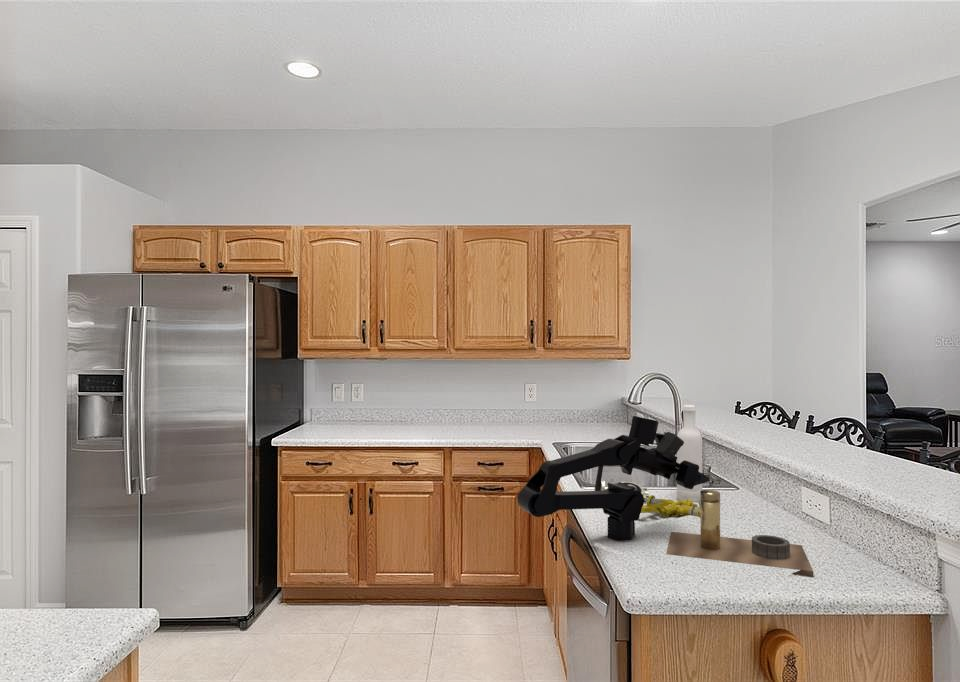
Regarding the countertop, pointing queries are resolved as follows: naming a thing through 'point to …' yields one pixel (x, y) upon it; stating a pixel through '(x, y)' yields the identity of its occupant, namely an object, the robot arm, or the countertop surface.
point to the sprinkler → (671, 507)
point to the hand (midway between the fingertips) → (698, 474)
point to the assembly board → (744, 551)
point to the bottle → (690, 452)
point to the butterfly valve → (601, 483)
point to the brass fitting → (710, 519)
